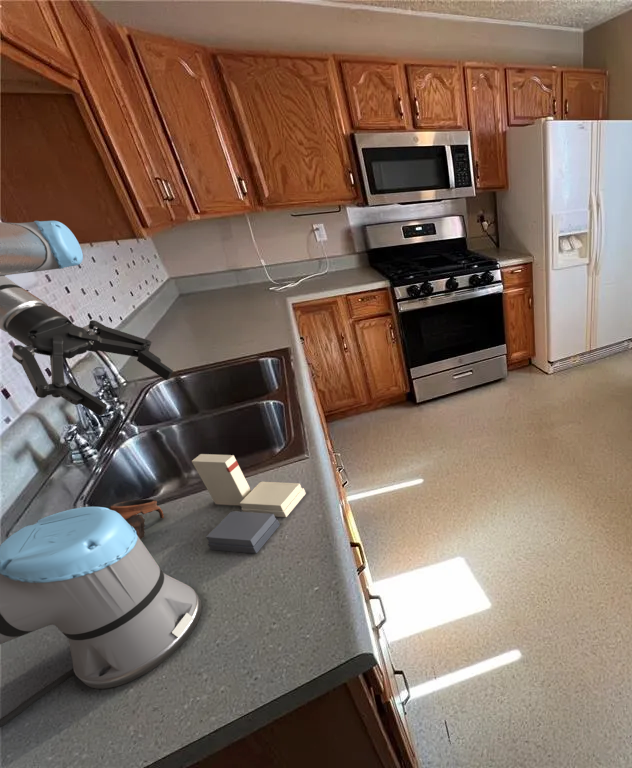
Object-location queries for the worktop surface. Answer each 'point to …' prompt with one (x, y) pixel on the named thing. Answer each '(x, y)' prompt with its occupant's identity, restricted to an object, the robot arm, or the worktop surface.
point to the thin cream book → (222, 478)
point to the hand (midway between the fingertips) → (139, 391)
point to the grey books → (242, 532)
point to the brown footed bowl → (136, 512)
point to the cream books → (273, 498)
